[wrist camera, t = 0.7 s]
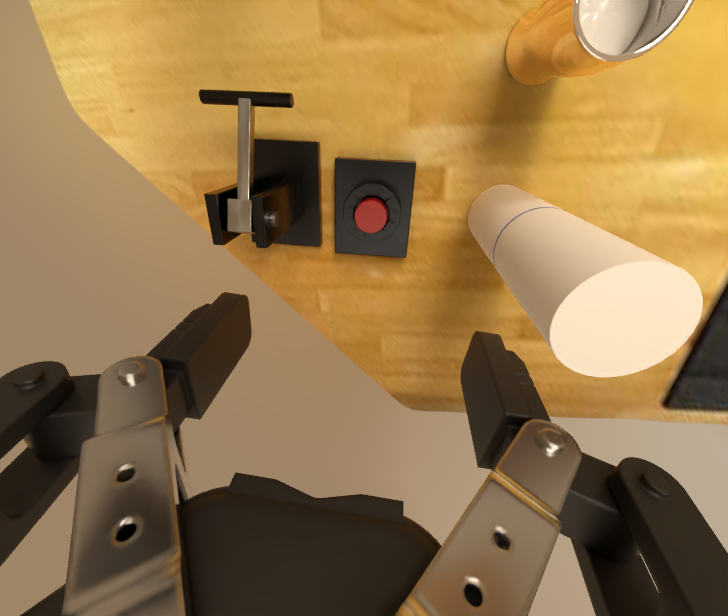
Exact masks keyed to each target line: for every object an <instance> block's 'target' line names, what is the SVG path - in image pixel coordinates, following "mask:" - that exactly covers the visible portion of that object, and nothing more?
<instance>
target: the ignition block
mask: <svg viewBox="0 0 728 616" xmlns="http://www.w3.org/2000/svg"><path fill="white" fill-rule="evenodd" d="M415 170H416V162H415V161H402V160H383V159H364V158H344V157H337V158H335V252H336V253H347V254H361V255H375V256H389V257H403V258H406V253H407V244H408V235H409V226H410V216H411V207H412V198H413V189H414V179H415ZM367 198H377V199H379V200H381V201H382V202H383V203H384V204H385V206H386V208H387V221H386V224H385V226H384V227H383V228H382V229H381V230H380V231H378V232H376V233H366V232H363V231H362V230H360V229H359V228H358V226H357V225H356V223H355V218H354V215H355V211H356V209H357V207H358V205H359V204H360V202H361V201H363V200H364V199H367Z"/></svg>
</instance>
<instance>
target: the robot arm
mask: <svg viewBox="0 0 728 616" xmlns="http://www.w3.org/2000/svg"><path fill="white" fill-rule="evenodd" d="M250 340H251V321H250V310H249V301H248V297H247V296H246V295H240V294H233V293H227V292H224V293H222V294H221V295H220V296H219V297H218V298H217V299H216V300H215V301H214V302H213V303H212V304H205V305H203V306H201V307H199V308H197V309H195V310H193V311H192V312H191V313H190V314H189V315H188V316H187V317H186V318H185V319H184V320H183V322H181V323H179V324H178V325H177V326H176V328H175V329H173V330H172V331H171V332H170V333H169V334H168V335H167V336H166V337H165V338H164V339H163V340H162V341H161V342H160V343H158V344H157V346H155V347H154V348H153V349H152V350H151V351H150V352H149V353H148V354H147V355H146V356H136V357H131V358H127V359H124V360H121V361H119V362H117V363H115V364H113V365H111V366H110V367H109V368H107V369H106V370H105V371H104V372H103V373H102V374H97V375H84V376H72V377H71V376H70V375H69V373H68V371H67V369H66V367H65V366H64V365H63V364H61V363H59V362H52V361H46V362H37V363H33V364H29V365H25V366H23V367H20V368H17V369H15V370H13V371H11V372H9V373H7V374H6V375H4V376H3V377H1V378H0V459H1V458H2V457H3V456H5V454H7V453H8V452H9V451H10V450H11V449H12V448H13V447H14V446H15V445H16V444H17V443H18V442H20V441H21V440H22V439H24V441H25V442H26V444H27V445H28V447H27V448H26V449H25V450H24V451H23V452H22V453H21V454H20V455H19V456H18V457H17V458H16V459H15V460H14V461H13V462H12V463H11V464H10V465H8V466H7V467H6V468H5V469H4V470H3V472H1V473H0V566H1V565H2V564H3V563H4V561H5V560H6V559H7V558H8V557H9V555H10V554H11V553H12V552H13V550H14V549H15V548H16V547H17V546H18V545H19V543H20V542H21V541H22V540H23V538H24V537H25V536H26V535H27V534H28V532H29V531H30V530H31V529H32V528H33V526H34V525H35V524H36V523H37V522H38V520H39V519H40V518H41V517H42V516H43V514H44V513H45V512H46V511H47V509H48V508H49V507H50V506H51V505H52V503H53V502H54V501H55V500H56V498H57V497H58V496H59V495H60V493H61V492H62V491H63V490H64V489H65V488H66V487H67V485H68V484H69V483H70V482H71V480H72V479H73V478H74V477H75V476H76V474H77V473H78V472H79V473H78V482H77V491H76V501H75V508H74V517H73V526H72V535H71V544H70V552H69V561H68V570H67V579H66V584H64V585H63V586H62V587H60V588H59V589H57V590H56V591H55V592H53V593H52V594H50V595H49V596H47V597H46V598H44V599H43V600H42V601H40V602H39V603H37V604H36V605H35V606H33V607H32V608H30V609H29V610H27V611H26V612H24V613H23V614H22V615H20V616H528V613H529V611H530V608H531V605H532V603H533V600H534V597H535V595H536V592H537V590H538V587H539V584H540V582H541V579H542V577H543V574H544V571H545V569H546V566H547V563H548V561H549V558H550V556H551V553H552V550H553V547H554V545H555V543H556V540H557V537H558V535H559V533H561V534H563V535H565V536H567V537H569V538H571V541H572V544H573V547H574V550H575V553H576V556H577V559H578V562H579V566H580V568H581V571H582V574H583V578H584V581H585V584H586V587H587V590H588V593H589V596H590V599H591V602H592V605H593V608H594V611H595V614H596V616H728V553H727V552H726V550H725V549H724V547H723V546H722V544H721V543H720V541H719V540H718V538H717V537H716V535H715V534H714V532H713V531H712V529H711V528H710V526H709V525H708V523H707V522H706V520H705V519H704V517H703V516H702V514H701V513H700V511H699V510H698V509H697V507H696V505H695V504H694V502H693V501H692V499H691V498H690V496H689V495H688V494H687V492H686V491H685V489H684V488H683V487H682V486H681V485H680V484H679V482H678V481H677V480H676V479H674V478H673V477H672V476H671V475H670V474H668V473H667V472H666V471H664V470H663V469H661V468H660V467H658V466H657V465H655V464H653V463H651V462H648V461H646V460H643V459H640V458H634V457H629V458H625V459H623V460H622V461H621V462H620V463H619V465H618V466H617V467H616V466H613V465H611V464H608V463H606V462H604V461H601V460H599V459H596V458H594V457H592V456H589V455H587V454H585V453H583V452H581V450H580V448H579V446H578V444H577V443H576V441H575V440H574V439H573V437H572V436H571V435H570V434H569V433H568V432H566V431H565V430H564V429H562V428H561V427H559V426H558V425H556V424H554V423H551V420H550V418H549V416H548V414H547V412H546V410H545V407H544V405H543V403H542V401H541V399H540V397H539V394H538V392H537V390H536V388H535V387H534V383H533V381H532V379H531V377H529V373H528V370H527V368H526V366H525V364H524V362H523V361H522V360H521V359H520V358H519V357H518V356H517V355H516V354H515V353H514V352H513V351H508V350H506V349H505V346H504V344H503V342H502V339H501V337H500V335H498V334H492V333H486V332H479V331H476V332H475V333H474V335H473V337H472V340H471V342H470V345H469V348H468V351H467V354H466V356H465V359H464V362H463V365H462V369H461V385H462V390H463V395H464V400H465V405H466V410H467V415H468V420H469V425H470V430H471V435H472V440H473V445H474V450H475V455H476V460H477V465H478V467H480V468H486V469H491V470H492V471H491V473H490V474H489V476H488V477H487V478H486V480H485V482H484V483H483V485H482V486H481V488H480V489H479V491H478V492H477V494H476V495H475V497H474V498H473V500H472V501H471V503H470V504H469V506H468V507H467V509H466V510H465V512H464V513H463V515H462V516H461V518H460V519H459V521H458V522H457V524H456V525H455V527H454V528H453V530H452V531H451V533H450V534H449V536H448V537H447V539H446V540H445V542H444V544H443V545H442V546H441V545H440V543H439V542H438V541H437V540H436V539H435V538H434V537H433V536H432V535H431V534H430V533H429V532H428V531H426V530H425V529H424V528H423V527H421V526H420V525H419V524H417V523H416V522H414V521H413V520H411V519H409V518H407V517H405V516H403V501H398V500H392V499H387V498H381V497H375V496H368V495H363V494H359V495H348V496H338V497H328V498H314V497H311V496H309V495H307V494H305V493H303V492H301V491H299V490H297V489H295V488H293V487H291V486H289V485H286V484H285V483H282V482H280V481H278V480H276V479H270V478H264V477H259V476H253V475H247V474H241V473H235V475H234V477H233V479H232V481H231V484H230V486H226V487H220V488H216V489H212V490H209V491H206V492H203V493H200V494H198V495H196V496H192V492H191V488H190V483H189V477H188V471H187V465H186V458H185V452H184V446H183V439H182V433H181V429H180V425H181V423H182V422H183V420H184V419H185V418H186V417H188V418H193V419H199V420H200V419H201V418H202V416H203V415H204V413H205V412H206V410H207V409H208V407H209V405H210V404H211V402H212V401H213V399H214V398H215V396H216V395H217V393H218V392H219V390H220V389H221V387H222V386H223V384H224V383H225V381H226V379H227V378H228V377H229V375H230V374H231V372H232V370H233V369H234V367H235V366H236V364H237V363H238V361H239V360H240V358H241V357H242V355H243V354H244V352H245V351H246V349H247V348H248V346H249V343H250ZM640 554H642V556H643V559H644V561H645V563H646V565H647V567H648V569H649V571H650V573H651V575H652V578H653V580H654V582H655V584H656V586H657V589H658V591H657V589H656V587H655V585H654V583H653V581H652V579H651V576H650V574H649V572H648V570H647V568H646V566H645V564H644V562H643V559H642V557H641V556H640ZM658 592H659V593H658Z"/></svg>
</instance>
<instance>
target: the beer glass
mask: <svg viewBox="0 0 728 616" xmlns="http://www.w3.org/2000/svg"><path fill="white" fill-rule="evenodd" d="M693 1H694V0H542V2H541V3H540V5H539V6H538V7H536V8H534V9H532V10H530V11H529V12H528V13H526V14H525V15H524V16H523V17H522V18H521V19H520V20H519V21H518V22H517V24H516V25H515V27H514V28H513V30H512V32H511V34H510V36H509V39H508V42H507V46H506V64H507V68H508V70H509V72H510V74H511V76H512V77H513V78H514V79H515V80H516V81H518V82H519V83H521V84H524V85H538V84H541V83H544V82H546V81H548V80H550V79H551V78H553V77H554V76H557V77H570V78H574V77H582V76H587V75H592V74H595V73H598V72H601V71H604V70H607V69H610V68H612V67H614V66H617V65H619V64H621V63H624V62H626V61H628V60H631V59H634V58H636V57H639V56H641V55H643V54H645V53H647V52H648V51H650V50H651V49H653V48H654V47H656V46H657V45H658V44H660V43H661V42H662V41H663V40H664V39H666V38H667V37H668V36H669V35H670V34H671V33H672V32H673V30H674V29H675V28H676V27H677V26H678V25H679V23H680V22H681V21H682V19H683V18H684V17H685V15H686V14H687V12H688V10H689V9H690V7H691V5H692V3H693Z"/></svg>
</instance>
